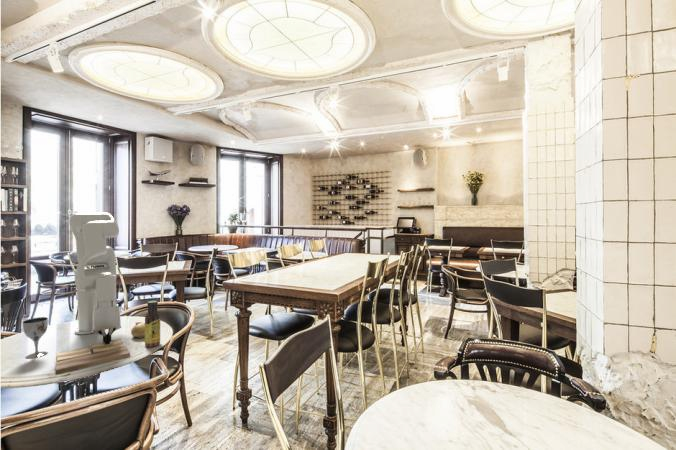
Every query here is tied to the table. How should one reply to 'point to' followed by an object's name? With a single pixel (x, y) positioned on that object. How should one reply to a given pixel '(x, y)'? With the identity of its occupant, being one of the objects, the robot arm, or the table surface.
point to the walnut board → (91, 359)
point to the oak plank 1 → (73, 354)
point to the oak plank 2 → (107, 346)
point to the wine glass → (35, 333)
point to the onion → (138, 330)
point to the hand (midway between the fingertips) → (107, 343)
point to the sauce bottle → (152, 325)
